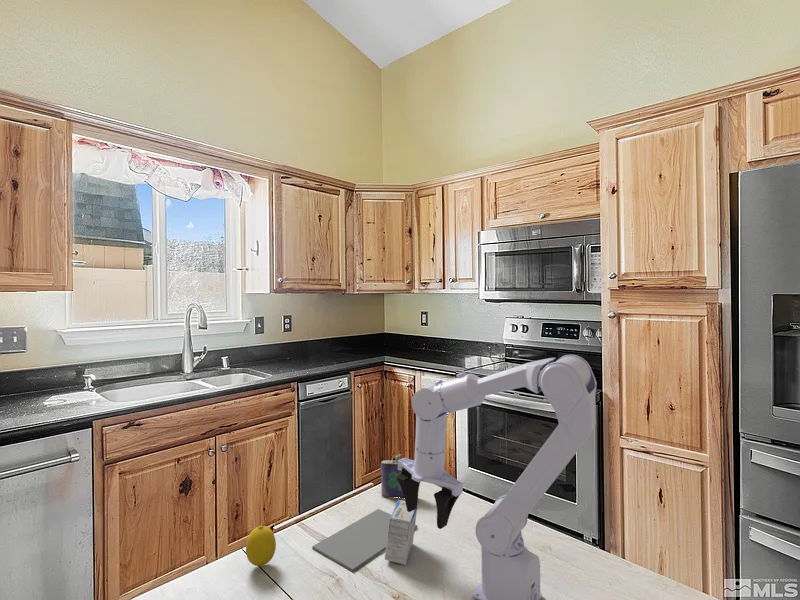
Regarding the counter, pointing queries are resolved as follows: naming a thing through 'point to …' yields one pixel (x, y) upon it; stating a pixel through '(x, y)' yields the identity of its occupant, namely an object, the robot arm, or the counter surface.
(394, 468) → the flask
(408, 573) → the counter surface
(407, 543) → the medicine box
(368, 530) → the mat
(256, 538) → the lemon
